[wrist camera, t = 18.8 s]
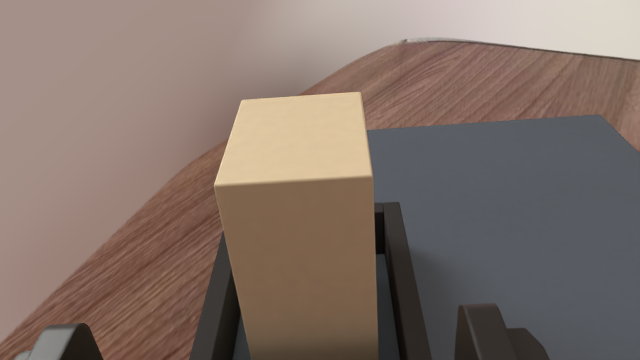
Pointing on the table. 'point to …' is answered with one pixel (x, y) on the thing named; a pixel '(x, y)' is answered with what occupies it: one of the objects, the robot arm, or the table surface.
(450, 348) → the dark gray square slab
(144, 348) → the table surface
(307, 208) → the tan rectangular block
